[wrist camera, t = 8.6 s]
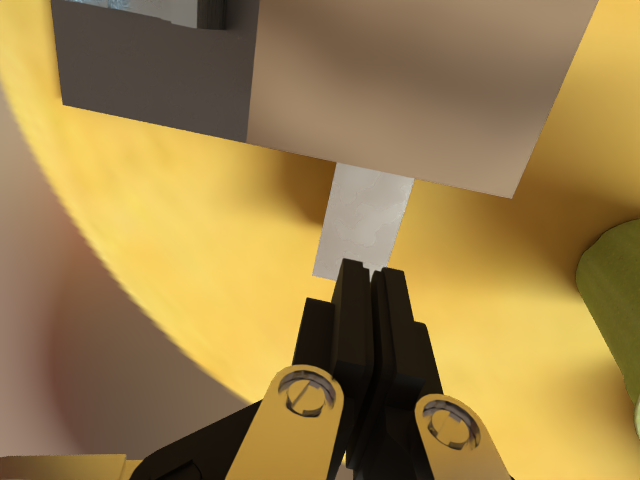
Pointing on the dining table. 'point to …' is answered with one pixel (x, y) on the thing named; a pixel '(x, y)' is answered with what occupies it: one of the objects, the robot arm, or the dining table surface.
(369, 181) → the rectangular steel bar
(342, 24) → the slotted wooden block
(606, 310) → the plant pot
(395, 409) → the robot arm
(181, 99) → the v-block
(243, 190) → the dining table surface
